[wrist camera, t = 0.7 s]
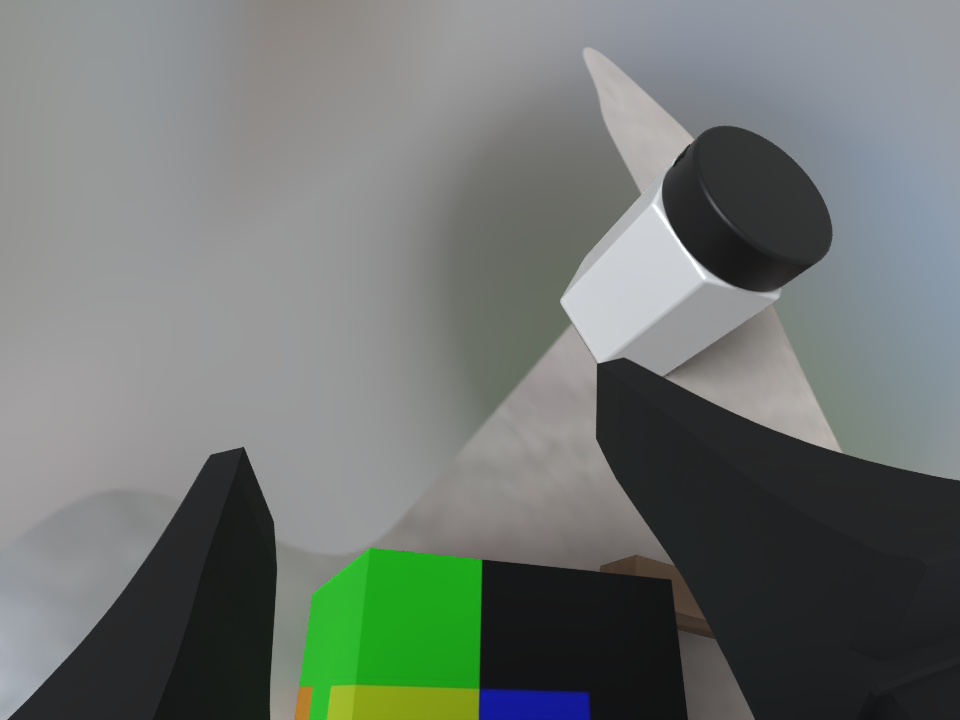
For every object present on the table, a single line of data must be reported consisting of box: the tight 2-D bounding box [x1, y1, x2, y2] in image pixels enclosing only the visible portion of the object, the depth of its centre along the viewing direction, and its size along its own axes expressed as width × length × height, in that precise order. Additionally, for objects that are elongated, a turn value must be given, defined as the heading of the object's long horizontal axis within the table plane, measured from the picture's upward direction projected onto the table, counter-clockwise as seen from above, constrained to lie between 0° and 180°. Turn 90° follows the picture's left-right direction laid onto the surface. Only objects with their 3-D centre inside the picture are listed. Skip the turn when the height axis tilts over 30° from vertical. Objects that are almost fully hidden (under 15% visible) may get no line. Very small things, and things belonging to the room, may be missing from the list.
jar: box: [560, 126, 832, 376], centre depth 34 cm, size 9×8×12 cm
